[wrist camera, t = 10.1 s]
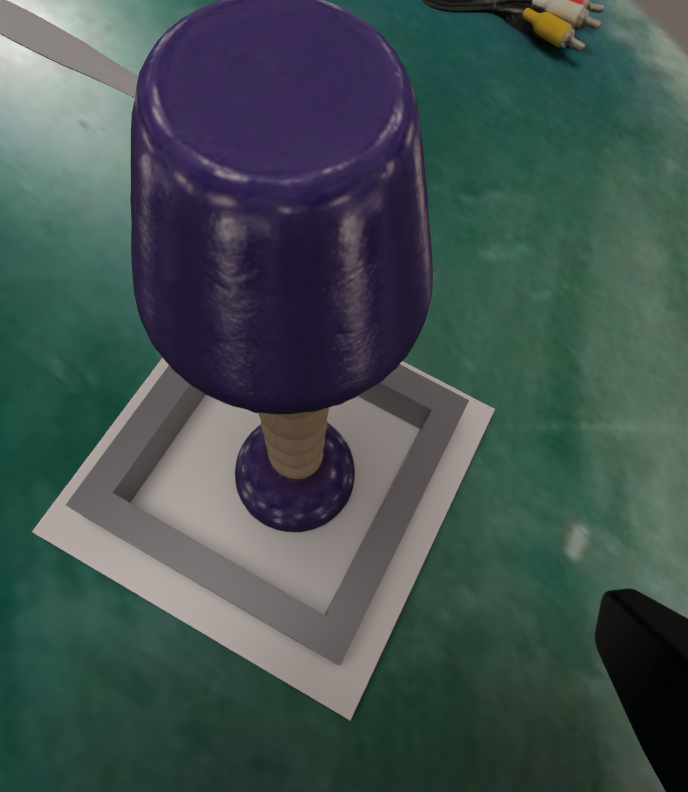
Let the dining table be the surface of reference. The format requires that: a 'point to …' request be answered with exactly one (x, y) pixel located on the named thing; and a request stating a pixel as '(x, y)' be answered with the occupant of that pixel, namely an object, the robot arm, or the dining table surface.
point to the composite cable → (536, 16)
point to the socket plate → (266, 547)
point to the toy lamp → (280, 230)
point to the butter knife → (63, 47)
